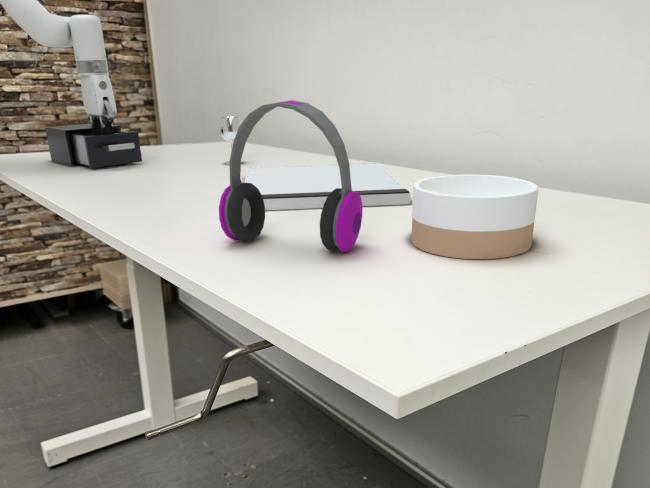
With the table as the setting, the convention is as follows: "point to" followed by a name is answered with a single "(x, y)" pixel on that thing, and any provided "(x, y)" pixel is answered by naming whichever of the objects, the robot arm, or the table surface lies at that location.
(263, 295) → the table surface
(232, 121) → the wineglass
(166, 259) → the table surface
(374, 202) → the pale grey flat slab
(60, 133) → the drawer box
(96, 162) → the black drawer
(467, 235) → the bowl
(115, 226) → the table surface
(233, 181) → the headphones
